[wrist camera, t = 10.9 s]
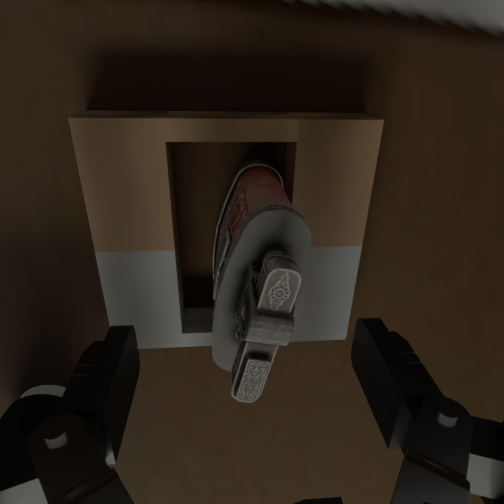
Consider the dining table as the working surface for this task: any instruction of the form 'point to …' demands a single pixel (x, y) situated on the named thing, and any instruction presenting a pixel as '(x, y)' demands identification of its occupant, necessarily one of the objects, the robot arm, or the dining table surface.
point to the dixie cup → (29, 412)
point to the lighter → (256, 276)
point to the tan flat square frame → (166, 218)
